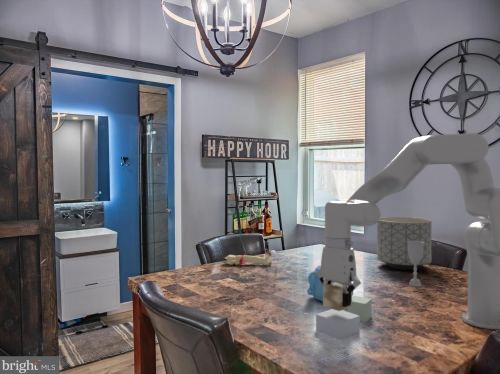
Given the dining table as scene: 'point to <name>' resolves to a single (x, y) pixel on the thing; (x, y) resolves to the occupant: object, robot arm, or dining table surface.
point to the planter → (402, 240)
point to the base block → (338, 323)
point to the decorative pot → (316, 285)
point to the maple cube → (334, 296)
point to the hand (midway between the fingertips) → (337, 302)
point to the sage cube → (361, 308)
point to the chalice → (415, 258)
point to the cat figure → (248, 259)
